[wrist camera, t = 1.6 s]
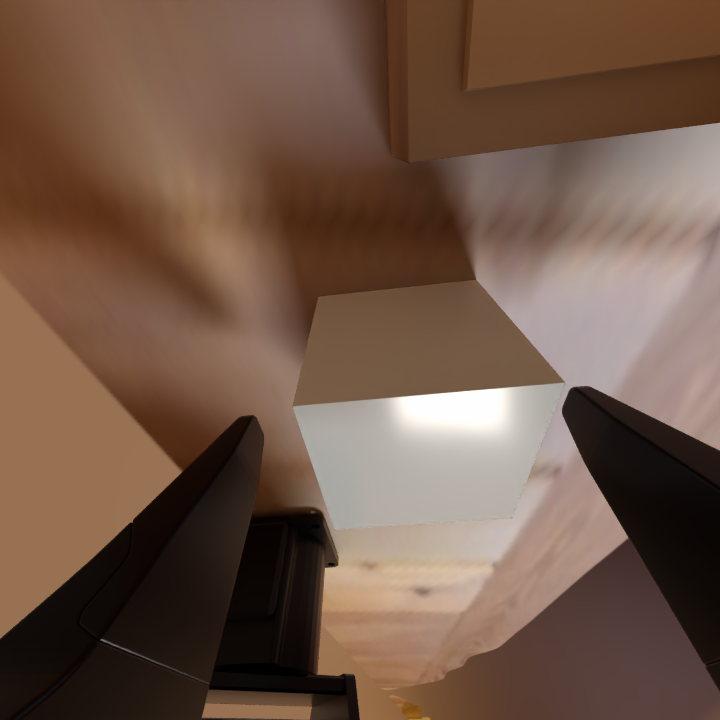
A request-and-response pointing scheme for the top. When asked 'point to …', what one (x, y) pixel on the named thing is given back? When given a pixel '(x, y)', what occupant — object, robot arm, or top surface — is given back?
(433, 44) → the walnut plinth
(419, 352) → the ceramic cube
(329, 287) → the top surface
